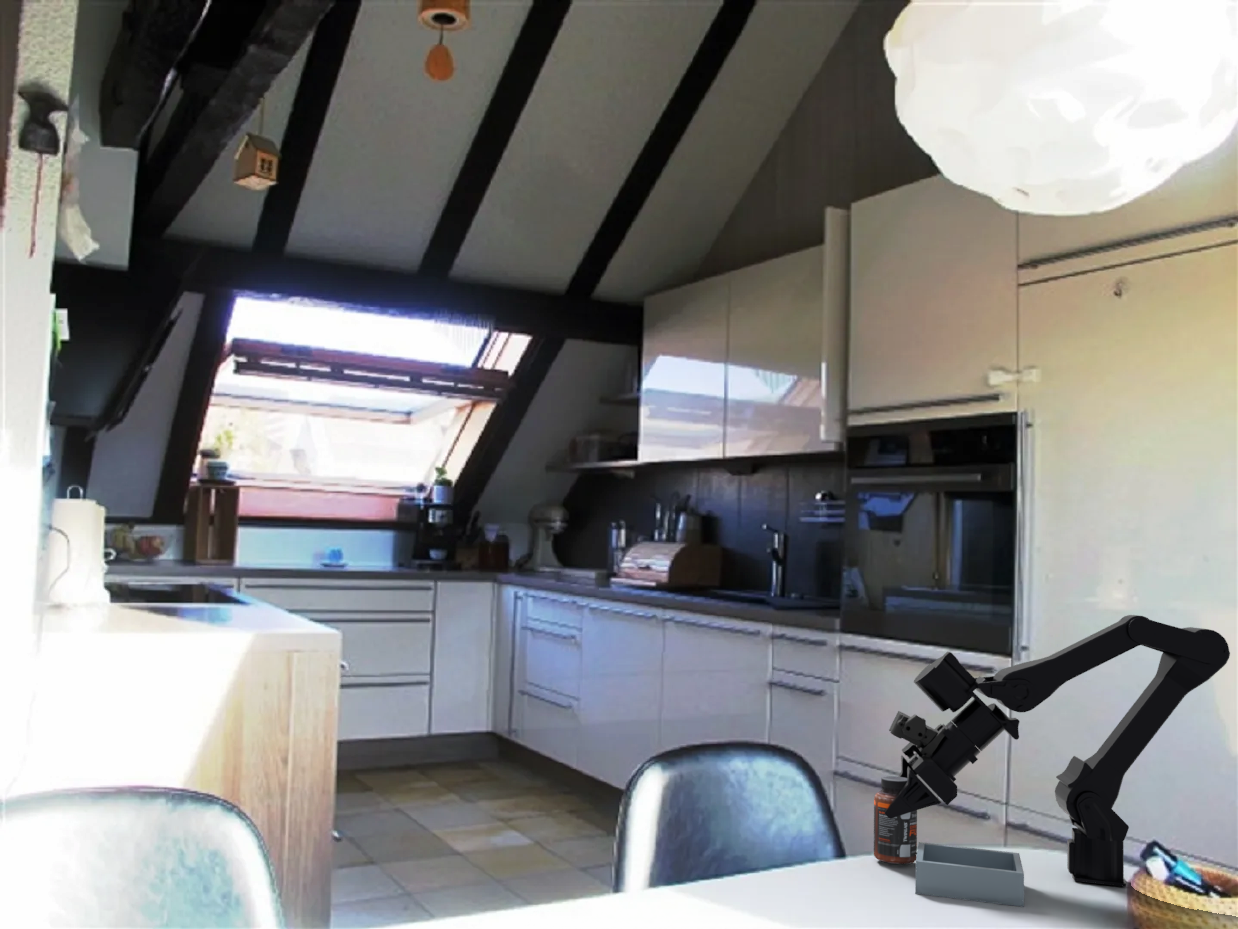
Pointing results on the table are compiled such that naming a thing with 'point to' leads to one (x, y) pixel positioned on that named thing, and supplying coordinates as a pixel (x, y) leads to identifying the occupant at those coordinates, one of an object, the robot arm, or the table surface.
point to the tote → (969, 874)
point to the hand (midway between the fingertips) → (885, 811)
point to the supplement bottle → (893, 826)
